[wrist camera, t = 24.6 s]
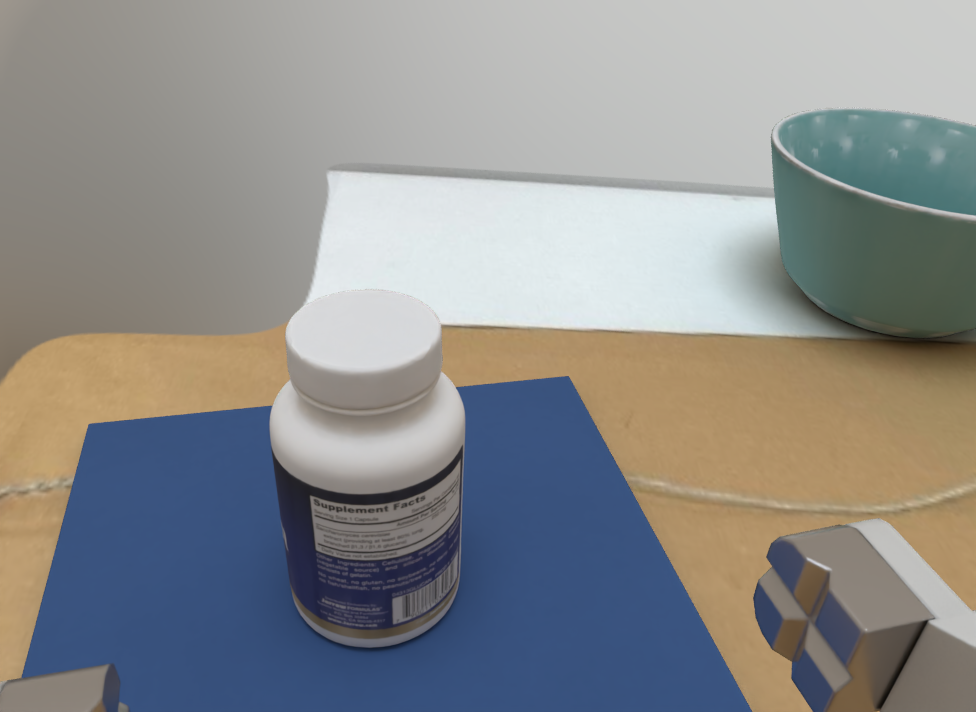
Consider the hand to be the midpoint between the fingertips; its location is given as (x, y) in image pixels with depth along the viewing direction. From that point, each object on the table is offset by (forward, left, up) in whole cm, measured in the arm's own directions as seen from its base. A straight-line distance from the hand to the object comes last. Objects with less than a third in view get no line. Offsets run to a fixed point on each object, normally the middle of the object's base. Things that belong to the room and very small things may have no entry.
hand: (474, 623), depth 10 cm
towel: (0, +12, -13) cm, 18 cm away
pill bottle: (0, +12, -13) cm, 17 cm away
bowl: (+30, +27, -13) cm, 42 cm away
